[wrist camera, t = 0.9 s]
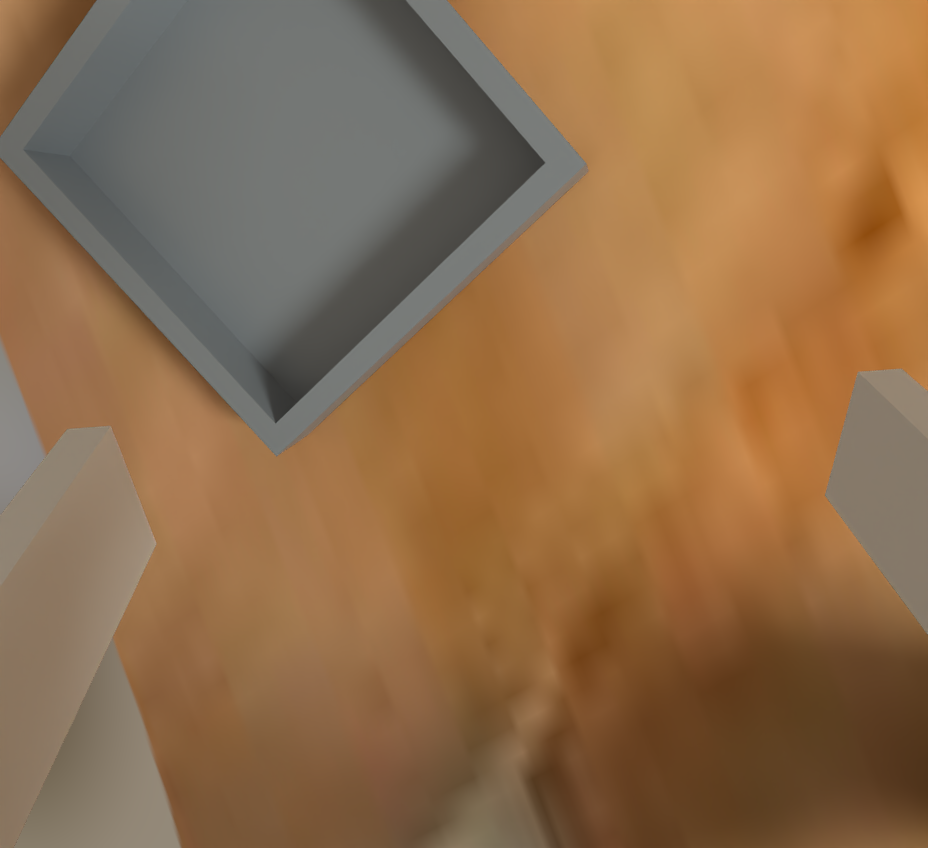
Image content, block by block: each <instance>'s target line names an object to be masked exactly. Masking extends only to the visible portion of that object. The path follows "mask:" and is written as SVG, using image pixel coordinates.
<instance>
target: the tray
mask: <svg viewBox="0 0 928 848" xmlns="http://www.w3.org/2000/svg"><path fill="white" fill-rule="evenodd" d="M0 158H1V159H2V160H3V161H4V162H5V163H6V165H7V166H8V167H9V168H10V169H11V170H12V171H13V172H14V173H15V174H16V175H17V176H18V178H19V179H20V180H21V181H22V182H23V183H24V184H25V185H26V186H27V187H28V188H29V189H30V190H31V192H32V193H33V194H34V195H35V196H36V197H37V198H38V199H39V200H40V201H41V202H42V203H43V205H44V206H45V207H46V208H47V209H48V210H49V211H50V212H51V213H52V214H53V215H54V216H55V218H56V219H57V220H58V221H59V222H60V223H61V224H62V225H63V226H64V227H65V228H66V229H67V230H68V232H69V233H70V234H71V235H72V236H73V237H74V238H75V239H76V240H77V241H78V242H79V243H80V245H81V246H82V247H83V248H84V249H85V250H86V251H87V252H88V253H89V254H90V255H91V256H92V257H93V259H94V260H95V261H96V262H97V263H98V264H99V265H100V266H101V267H102V268H103V269H104V270H105V272H106V273H107V274H108V275H109V276H110V277H111V278H112V279H113V280H114V281H115V282H116V283H117V284H118V286H119V287H120V288H121V289H122V290H123V291H124V292H125V293H126V294H127V295H128V296H129V297H130V299H131V300H132V301H133V302H134V303H135V304H136V305H137V306H138V307H139V308H140V309H141V310H142V311H143V313H144V314H145V315H146V316H147V317H148V318H149V319H150V320H151V321H152V322H153V323H154V324H155V326H156V327H157V328H158V329H159V330H160V331H161V332H162V333H163V334H164V335H165V336H166V337H167V338H168V340H169V341H170V342H171V343H172V344H173V345H174V346H175V347H176V348H177V349H178V350H179V351H180V353H181V354H182V355H183V356H184V357H185V358H186V359H187V360H188V361H189V362H190V363H191V364H192V366H193V367H194V368H195V369H196V370H197V371H198V372H199V373H200V374H201V375H202V376H203V377H204V378H205V380H206V381H207V382H208V383H209V384H210V385H211V386H212V387H213V388H214V389H215V390H216V391H217V393H218V394H219V395H220V396H221V397H222V398H223V399H224V400H225V401H226V402H227V403H228V404H229V405H230V407H231V408H232V409H233V410H234V411H235V412H236V413H237V414H238V415H239V416H240V417H241V418H242V420H243V421H244V422H245V423H246V424H247V425H248V426H249V427H250V428H251V429H252V430H253V431H254V432H255V434H256V435H257V436H258V437H259V438H260V439H261V440H262V441H263V442H264V443H265V444H266V445H267V447H268V448H269V449H270V450H271V451H272V452H273V453H274V454H275V455H276V456H278V455H279V454H281V453H282V452H284V451H285V450H287V449H288V448H289V447H291V446H292V445H294V444H295V443H297V442H298V441H300V440H301V439H303V438H304V437H305V436H307V435H308V434H309V433H310V432H311V431H313V430H314V429H315V428H316V427H317V426H318V425H319V424H320V423H321V422H322V421H323V420H324V419H325V418H326V417H327V416H328V415H330V414H331V413H332V412H333V411H334V410H335V409H336V408H337V407H338V406H339V405H340V404H341V403H342V402H343V401H344V400H346V399H347V398H348V397H349V396H350V395H351V394H352V393H353V392H354V391H355V390H356V389H357V388H358V387H359V386H360V385H361V384H363V383H364V382H365V381H366V380H367V379H368V378H369V377H370V376H371V375H372V374H373V373H374V372H375V371H376V370H377V369H379V368H380V367H381V366H382V365H383V364H384V363H385V362H386V361H387V360H388V359H389V358H390V357H391V356H392V355H393V354H395V353H396V352H397V351H398V350H399V349H400V348H401V347H402V346H403V345H404V344H405V343H406V342H407V341H408V340H409V339H410V338H412V337H413V336H414V335H415V334H416V333H417V332H418V331H419V330H420V329H421V328H422V327H423V326H424V325H425V324H426V323H428V322H429V321H430V320H431V319H432V318H433V317H434V316H435V315H436V314H437V313H438V312H439V311H440V310H441V309H442V308H444V307H445V306H446V305H447V304H448V303H449V302H450V301H451V300H452V299H453V298H454V297H455V296H456V295H457V294H458V293H459V292H461V291H462V290H463V289H464V288H465V287H466V286H467V285H468V284H469V283H470V282H471V281H472V280H473V279H474V278H475V277H477V276H478V275H479V274H480V273H481V272H482V271H483V270H484V269H485V268H486V267H487V266H488V265H489V264H490V263H491V262H492V261H494V260H495V259H496V258H497V257H498V256H499V255H500V254H501V253H502V252H503V251H504V250H505V249H506V248H507V247H508V246H510V245H511V244H512V243H513V242H514V241H515V240H516V239H517V238H518V237H519V236H520V235H521V234H522V233H523V232H524V231H526V230H527V229H528V228H529V227H530V226H531V225H532V224H533V223H534V222H535V221H536V220H537V219H538V218H539V217H540V216H541V215H543V214H544V213H545V212H546V211H547V210H548V209H549V208H550V207H551V206H552V205H553V204H554V203H555V202H556V201H557V200H559V199H560V198H561V197H562V196H563V195H564V194H565V193H566V192H567V191H568V190H569V189H570V188H571V187H572V186H573V185H575V184H576V183H577V182H578V181H579V180H580V179H581V178H582V177H583V176H584V175H585V174H586V173H587V172H588V167H587V164H586V163H585V162H584V160H583V159H582V158H581V157H580V156H579V154H578V153H577V152H576V151H575V150H574V149H573V147H572V146H571V145H570V144H569V143H568V142H567V140H566V139H565V138H564V137H563V136H562V135H561V133H560V132H559V131H558V130H557V129H556V128H555V126H554V125H553V124H552V123H551V122H550V121H549V119H548V118H547V117H546V116H545V115H544V114H543V112H542V111H541V110H540V109H539V108H538V106H537V105H536V104H535V103H534V102H533V101H532V99H531V98H530V97H529V96H528V95H527V94H526V92H525V91H524V90H523V89H522V88H521V87H520V85H519V84H518V83H517V82H516V81H515V80H514V78H513V77H512V76H511V75H510V74H509V73H508V71H507V70H506V69H505V68H504V67H503V66H502V64H501V63H500V62H499V61H498V60H497V58H496V57H495V56H494V55H493V54H492V53H491V51H490V50H489V49H488V48H487V47H486V46H485V44H484V43H483V42H482V41H481V40H480V39H479V37H478V36H477V35H476V34H475V33H474V32H473V30H472V29H471V28H470V27H469V26H468V25H467V23H466V22H465V21H464V20H463V19H462V18H461V16H460V15H459V14H458V13H457V12H456V10H455V9H454V8H453V7H452V6H451V5H450V3H449V2H448V1H447V0H97V1H96V2H95V3H94V5H93V6H92V8H91V9H90V11H89V12H88V13H87V15H86V16H85V18H84V19H83V20H82V22H81V23H80V25H79V26H78V28H77V29H76V30H75V32H74V33H73V35H72V36H71V37H70V39H69V40H68V42H67V43H66V45H65V46H64V47H63V49H62V50H61V52H60V53H59V54H58V56H57V57H56V59H55V60H54V61H53V63H52V64H51V66H50V67H49V69H48V70H47V71H46V73H45V74H44V76H43V77H42V78H41V80H40V81H39V83H38V84H37V86H36V87H35V88H34V90H33V91H32V93H31V94H30V95H29V97H28V98H27V100H26V101H25V103H24V104H23V105H22V107H21V108H20V110H19V111H18V112H17V114H16V115H15V117H14V118H13V120H12V121H11V122H10V124H9V125H8V127H7V128H6V129H5V131H4V132H3V134H2V135H1V137H0Z"/></svg>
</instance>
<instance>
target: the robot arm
mask: <svg viewBox="0 0 928 848" xmlns="http://www.w3.org/2000/svg"><path fill="white" fill-rule="evenodd" d="M825 496H826V498H827V499H828V500H829V502H830V503H831V504H832V506H833V507H834V508H835V510H836V511H837V513H838V514H839V515H840V517H841V518H842V519H843V521H844V522H845V523H846V525H847V526H848V527H849V529H850V530H851V531H852V533H853V534H854V536H855V537H856V538H857V540H858V541H859V542H860V544H861V545H862V546H863V548H864V549H865V550H866V552H867V553H868V555H869V556H870V557H871V559H872V560H873V561H874V563H875V564H876V565H877V567H878V568H879V569H880V571H881V572H882V573H883V575H884V576H885V578H886V579H887V580H888V582H889V583H890V584H891V586H892V587H893V588H894V590H895V591H896V592H897V594H898V595H899V597H900V598H901V599H902V601H903V602H904V603H905V605H906V606H907V607H908V609H909V610H910V611H911V613H912V614H913V615H914V617H915V618H916V620H917V621H918V622H919V624H920V625H921V626H922V628H923V629H924V630H925V632H926V633H927V634H928V391H927V390H925V389H924V388H923V387H922V386H921V385H920V384H919V383H917V382H916V381H915V380H914V379H913V378H912V377H910V376H909V375H908V374H907V373H906V372H905V371H904V370H902V369H892V370H878V371H864V372H858V374H857V377H856V381H855V385H854V389H853V392H852V396H851V400H850V404H849V407H848V411H847V415H846V419H845V422H844V426H843V430H842V434H841V437H840V441H839V445H838V449H837V452H836V456H835V460H834V464H833V467H832V471H831V475H830V479H829V482H828V486H827V490H826V494H825ZM155 546H156V541H155V539H154V536H153V533H152V531H151V528H150V526H149V523H148V520H147V518H146V515H145V513H144V510H143V508H142V505H141V502H140V500H139V497H138V495H137V492H136V490H135V487H134V484H133V482H132V479H131V477H130V474H129V472H128V469H127V466H126V464H125V461H124V459H123V456H122V453H121V451H120V448H119V446H118V443H117V441H116V438H115V435H114V433H113V430H112V428H111V426H102V427H89V428H75V429H67V430H66V431H65V433H64V434H63V435H62V436H61V438H60V439H59V440H58V442H57V443H56V444H55V445H54V447H53V448H52V449H51V451H50V452H49V453H48V454H47V456H46V457H45V458H44V460H43V461H42V462H41V464H40V465H39V466H38V467H37V469H36V470H35V471H34V472H33V474H32V475H31V476H30V478H29V479H28V480H27V482H26V483H25V484H24V485H23V487H22V488H21V489H20V491H19V492H18V493H17V494H16V496H15V497H14V498H13V500H12V501H11V502H10V504H9V505H8V506H7V507H6V509H5V510H4V511H3V512H2V514H1V515H0V848H14V846H15V843H16V842H17V840H18V837H19V835H20V833H21V831H22V829H23V827H24V825H25V823H26V820H27V818H28V816H29V814H30V812H31V810H32V807H33V805H34V803H35V801H36V799H37V797H38V795H39V793H40V791H41V788H42V786H43V784H44V782H45V780H46V778H47V776H48V774H49V771H50V769H51V767H52V765H53V763H54V761H55V759H56V757H57V754H58V752H59V750H60V748H61V746H62V744H63V742H64V740H65V737H66V735H67V733H68V731H69V729H70V727H71V725H72V723H73V720H74V718H75V716H76V714H77V712H78V710H79V708H80V706H81V703H82V701H83V699H84V697H85V695H86V693H87V691H88V688H89V686H90V684H91V682H92V680H93V678H94V676H95V674H96V672H97V669H98V667H99V665H100V663H101V661H102V659H103V657H104V654H105V652H106V650H107V648H108V646H109V644H110V642H111V640H112V638H113V635H114V633H115V631H116V629H117V627H118V625H119V623H120V620H121V618H122V616H123V614H124V612H125V610H126V608H127V606H128V603H129V601H130V599H131V597H132V595H133V593H134V591H135V589H136V586H137V584H138V582H139V580H140V578H141V576H142V574H143V572H144V569H145V567H146V565H147V563H148V561H149V559H150V557H151V555H152V552H153V550H154V548H155Z"/></svg>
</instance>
